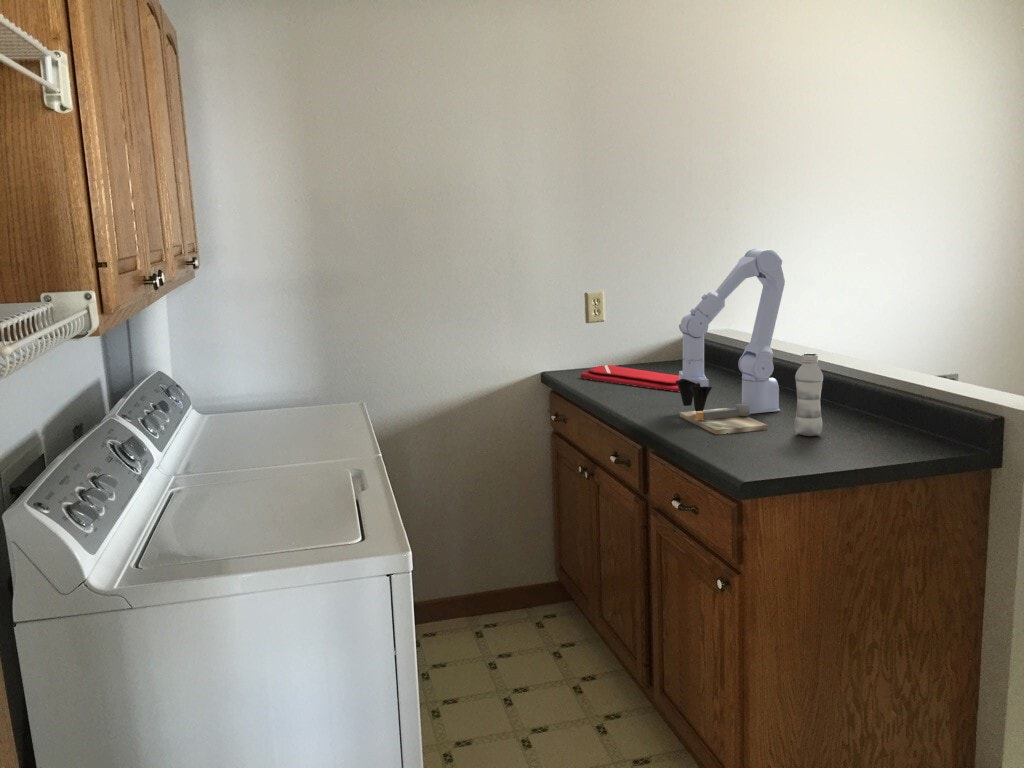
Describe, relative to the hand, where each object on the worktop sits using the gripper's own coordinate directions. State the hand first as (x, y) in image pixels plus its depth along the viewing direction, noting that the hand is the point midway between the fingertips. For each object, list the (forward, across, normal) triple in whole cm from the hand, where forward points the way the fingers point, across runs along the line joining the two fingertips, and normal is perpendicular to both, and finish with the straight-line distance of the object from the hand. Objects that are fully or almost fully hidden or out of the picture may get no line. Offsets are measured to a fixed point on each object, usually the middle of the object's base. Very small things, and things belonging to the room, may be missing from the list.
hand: (693, 408), depth 247 cm
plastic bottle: (+2, +31, +16) cm, 35 cm away
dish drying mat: (+3, -52, +6) cm, 52 cm away
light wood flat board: (+2, +11, +3) cm, 12 cm away
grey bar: (0, +11, +3) cm, 12 cm away
